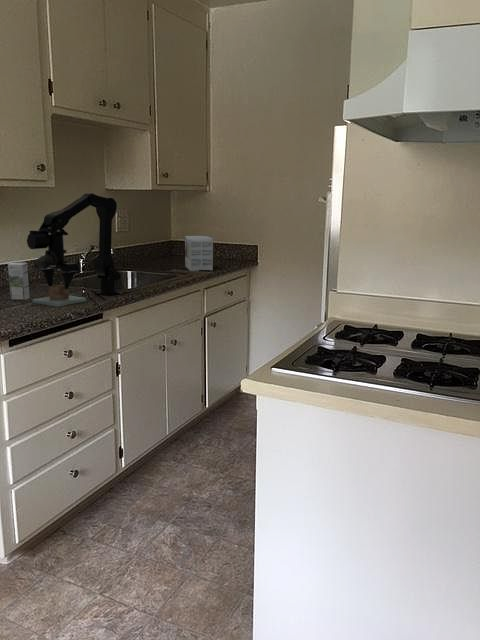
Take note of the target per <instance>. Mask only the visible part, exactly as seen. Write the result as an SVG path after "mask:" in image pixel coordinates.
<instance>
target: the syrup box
mask: <svg viewBox="0 0 480 640" xmlns="http://www.w3.org/2000/svg"><path fill="white" fill-rule="evenodd" d="M7 271H8V272H7V273H8V281H9V282H8V283H9V293H10V294H9V295H10V300H11V301H27V300H28V299H29V298H30V289H29V273H28V272H29V271H28V263H27V262H19V261H18V262H15V261H14V262H9V263H7Z"/></svg>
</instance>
